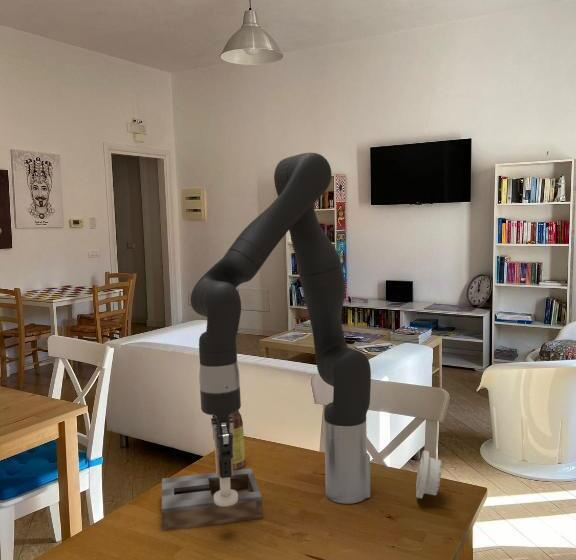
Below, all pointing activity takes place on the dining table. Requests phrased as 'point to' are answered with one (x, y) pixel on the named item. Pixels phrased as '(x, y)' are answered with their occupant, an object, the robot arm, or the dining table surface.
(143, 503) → the dining table surface
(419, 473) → the mechanical component
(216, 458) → the keyhole peg
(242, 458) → the sauce bottle
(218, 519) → the keyhole plate
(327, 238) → the robot arm
